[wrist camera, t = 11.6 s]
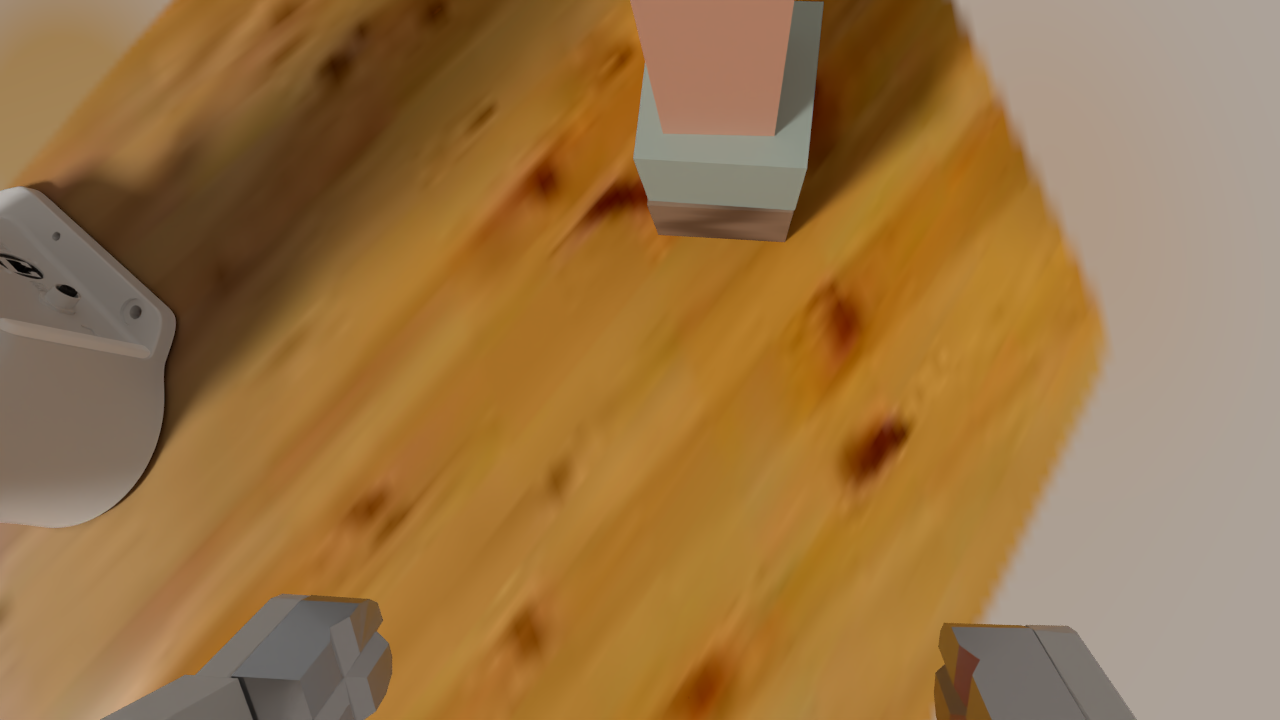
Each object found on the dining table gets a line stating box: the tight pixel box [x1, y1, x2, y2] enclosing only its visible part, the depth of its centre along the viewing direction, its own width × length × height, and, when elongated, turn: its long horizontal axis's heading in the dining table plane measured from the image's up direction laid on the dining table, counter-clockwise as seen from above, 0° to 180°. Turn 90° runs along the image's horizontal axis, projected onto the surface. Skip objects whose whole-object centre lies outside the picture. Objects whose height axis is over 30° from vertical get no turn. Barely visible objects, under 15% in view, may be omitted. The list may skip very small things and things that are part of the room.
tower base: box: [647, 200, 794, 242], centre depth 33 cm, size 7×7×5 cm
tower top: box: [633, 1, 824, 210], centre depth 29 cm, size 7×7×5 cm
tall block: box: [630, 0, 794, 136], centre depth 22 cm, size 4×4×9 cm
